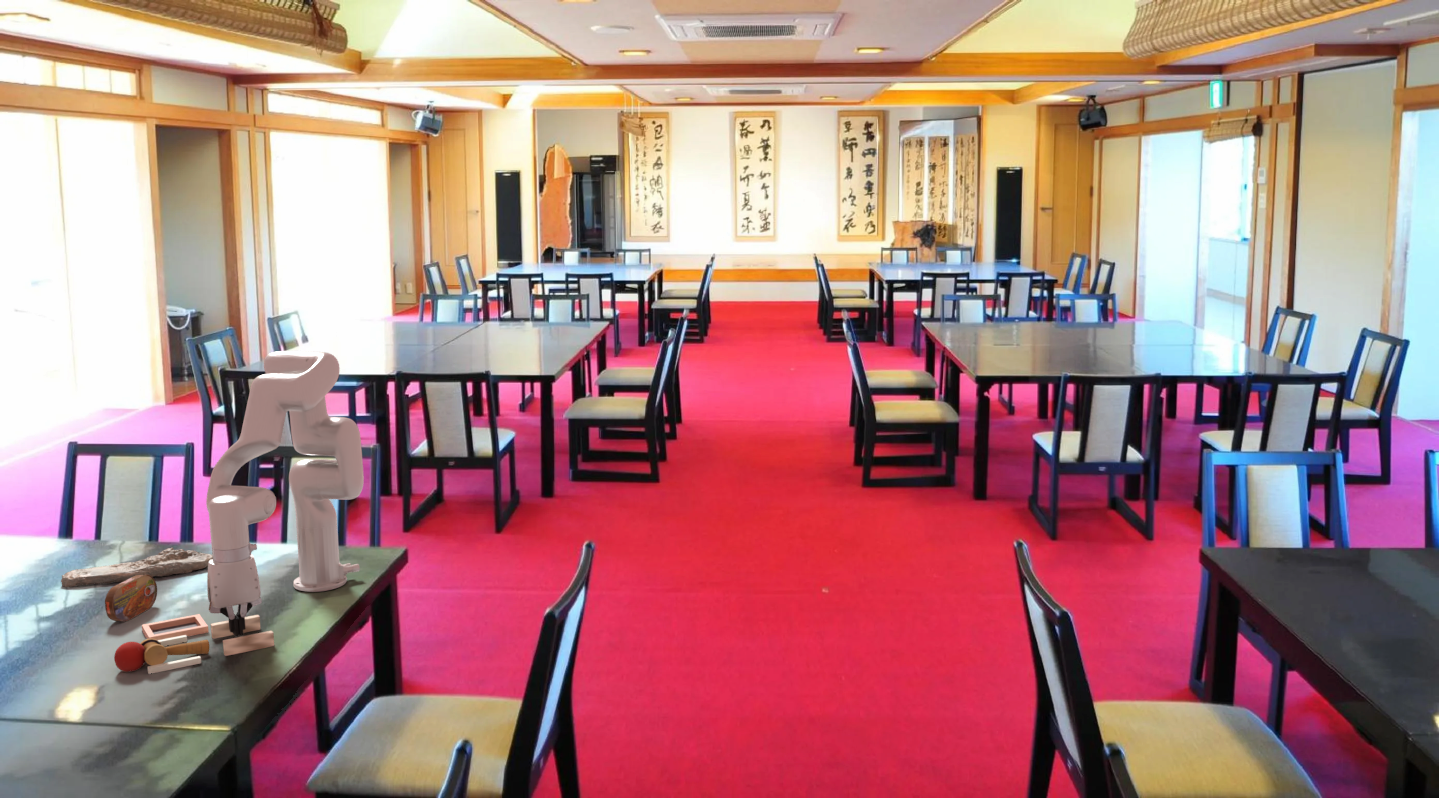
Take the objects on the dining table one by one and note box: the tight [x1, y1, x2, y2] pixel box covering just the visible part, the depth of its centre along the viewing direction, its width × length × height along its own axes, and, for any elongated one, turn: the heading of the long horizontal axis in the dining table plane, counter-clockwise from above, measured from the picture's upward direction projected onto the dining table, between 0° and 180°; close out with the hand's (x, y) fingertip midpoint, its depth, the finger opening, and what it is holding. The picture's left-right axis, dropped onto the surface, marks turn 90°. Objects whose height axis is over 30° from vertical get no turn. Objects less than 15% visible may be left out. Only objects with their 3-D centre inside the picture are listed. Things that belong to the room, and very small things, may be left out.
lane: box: [210, 614, 275, 657], centre depth 261 cm, size 10×13×3 cm
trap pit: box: [141, 613, 209, 640], centre depth 266 cm, size 12×9×2 cm
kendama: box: [113, 638, 210, 673], centre depth 249 cm, size 8×6×18 cm
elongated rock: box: [60, 547, 213, 588], centre depth 304 cm, size 35×5×10 cm
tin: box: [104, 575, 158, 623], centre depth 276 cm, size 15×3×8 cm, turn 168°
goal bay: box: [146, 635, 202, 675], centre depth 253 cm, size 10×15×1 cm, turn 34°
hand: (237, 633), depth 261 cm, fingers closed
